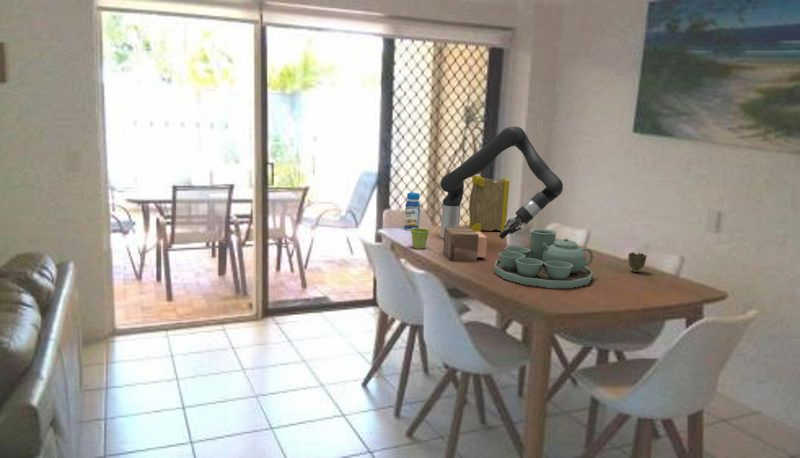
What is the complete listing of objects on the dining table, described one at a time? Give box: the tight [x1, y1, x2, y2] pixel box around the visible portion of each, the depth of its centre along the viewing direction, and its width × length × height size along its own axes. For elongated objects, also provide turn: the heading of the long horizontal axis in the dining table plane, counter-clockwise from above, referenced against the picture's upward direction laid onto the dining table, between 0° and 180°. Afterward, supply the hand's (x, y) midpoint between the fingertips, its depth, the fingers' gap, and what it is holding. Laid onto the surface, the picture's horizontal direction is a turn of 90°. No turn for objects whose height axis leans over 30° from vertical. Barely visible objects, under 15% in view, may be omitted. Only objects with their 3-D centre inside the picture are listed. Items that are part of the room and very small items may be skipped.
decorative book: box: [468, 175, 510, 233], centre depth 344 cm, size 20×11×30 cm, turn 93°
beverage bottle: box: [403, 192, 421, 231], centre depth 338 cm, size 8×8×20 cm
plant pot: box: [409, 227, 431, 250], centre depth 296 cm, size 9×9×9 cm
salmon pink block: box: [476, 231, 488, 258], centre depth 282 cm, size 12×10×9 cm
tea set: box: [493, 228, 594, 289], centre depth 255 cm, size 40×40×16 cm
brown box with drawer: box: [442, 226, 479, 262], centre depth 281 cm, size 16×12×12 cm
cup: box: [628, 251, 648, 273], centre depth 268 cm, size 8×7×8 cm
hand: (500, 237), depth 283 cm, fingers closed
